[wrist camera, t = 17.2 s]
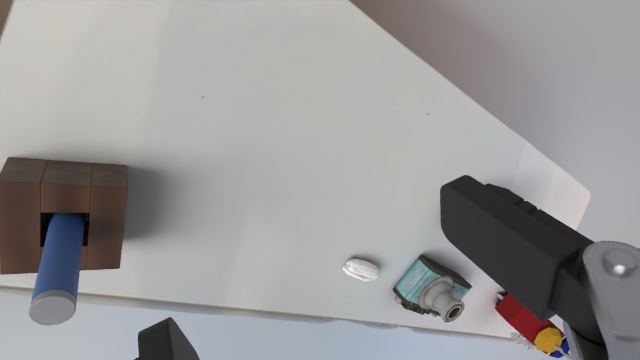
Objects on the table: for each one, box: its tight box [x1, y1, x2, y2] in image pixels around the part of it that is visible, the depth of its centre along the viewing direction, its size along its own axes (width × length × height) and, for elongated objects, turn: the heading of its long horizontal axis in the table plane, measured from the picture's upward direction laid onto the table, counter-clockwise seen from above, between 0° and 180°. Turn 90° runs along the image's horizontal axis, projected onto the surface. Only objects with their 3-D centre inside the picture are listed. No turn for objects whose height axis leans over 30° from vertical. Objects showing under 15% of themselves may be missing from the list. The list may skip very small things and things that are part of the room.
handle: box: [29, 213, 86, 325], centre depth 36 cm, size 3×3×16 cm
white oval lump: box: [343, 259, 379, 281], centre depth 67 cm, size 3×8×3 cm, turn 54°
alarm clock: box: [495, 293, 573, 360], centre depth 91 cm, size 15×9×20 cm, turn 47°
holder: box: [0, 158, 128, 275], centre depth 40 cm, size 10×10×5 cm
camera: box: [393, 255, 472, 322], centre depth 76 cm, size 16×10×10 cm
